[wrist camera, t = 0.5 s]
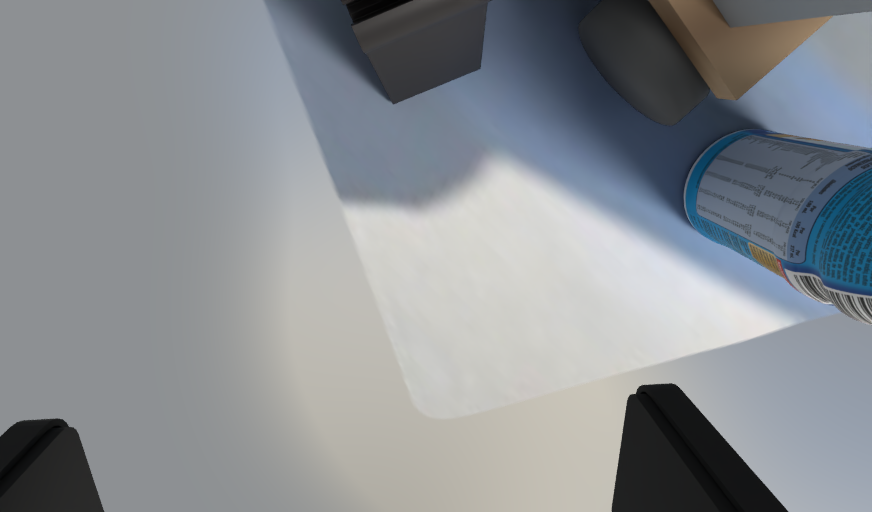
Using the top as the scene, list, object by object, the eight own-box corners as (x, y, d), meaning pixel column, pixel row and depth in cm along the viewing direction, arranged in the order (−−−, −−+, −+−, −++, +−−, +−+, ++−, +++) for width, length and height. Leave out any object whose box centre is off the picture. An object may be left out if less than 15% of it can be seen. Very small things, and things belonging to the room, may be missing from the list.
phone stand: (333, -47, 29) (293, -116, 18) (429, -87, 29) (449, -185, 18) (392, 104, 32) (390, 124, 21) (479, 69, 32) (524, 71, 21)
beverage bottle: (677, 138, 35) (1007, 222, 16) (797, 115, 35) (1268, 171, 16) (677, 251, 38) (955, 433, 19) (787, 229, 38) (1174, 390, 19)
